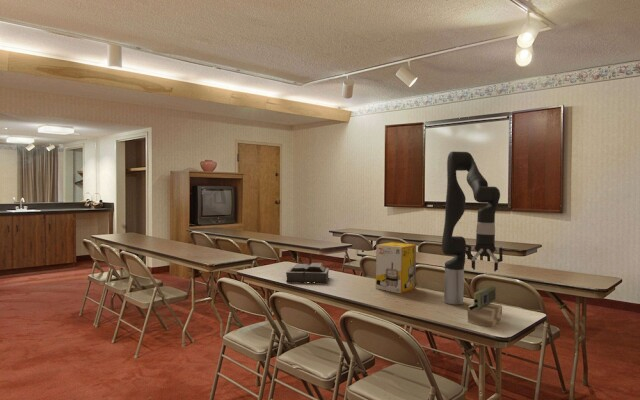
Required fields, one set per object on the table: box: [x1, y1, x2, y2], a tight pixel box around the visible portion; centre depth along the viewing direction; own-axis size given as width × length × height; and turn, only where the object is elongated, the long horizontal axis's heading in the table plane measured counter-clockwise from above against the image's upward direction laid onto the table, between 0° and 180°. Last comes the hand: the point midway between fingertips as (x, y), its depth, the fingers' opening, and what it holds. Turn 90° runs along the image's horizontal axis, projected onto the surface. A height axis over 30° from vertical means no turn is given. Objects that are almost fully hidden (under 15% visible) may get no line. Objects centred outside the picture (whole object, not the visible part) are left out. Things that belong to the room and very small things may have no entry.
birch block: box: [467, 303, 503, 328], centre depth 194 cm, size 12×10×7 cm
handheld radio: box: [470, 285, 497, 310], centre depth 194 cm, size 7×3×25 cm
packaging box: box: [375, 241, 417, 294], centre depth 254 cm, size 16×16×25 cm
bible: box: [285, 262, 330, 284], centre depth 274 cm, size 23×27×10 cm
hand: (484, 270), depth 194 cm, fingers open, 8 cm apart
